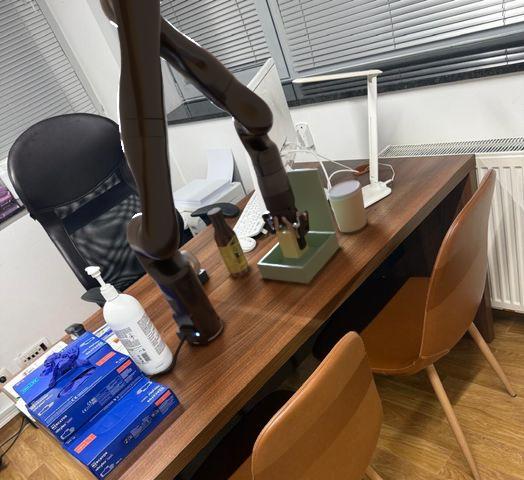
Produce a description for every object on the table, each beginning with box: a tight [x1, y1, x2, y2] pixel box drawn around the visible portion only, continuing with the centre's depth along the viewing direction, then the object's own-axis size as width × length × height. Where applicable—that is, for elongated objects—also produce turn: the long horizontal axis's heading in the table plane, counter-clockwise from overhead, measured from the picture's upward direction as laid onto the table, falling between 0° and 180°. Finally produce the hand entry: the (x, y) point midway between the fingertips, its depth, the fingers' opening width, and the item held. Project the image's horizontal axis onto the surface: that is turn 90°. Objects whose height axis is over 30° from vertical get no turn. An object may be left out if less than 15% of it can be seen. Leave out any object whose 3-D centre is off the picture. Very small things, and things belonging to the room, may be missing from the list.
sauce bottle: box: [207, 207, 250, 278], centre depth 127 cm, size 7×6×20 cm
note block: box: [275, 223, 309, 258], centre depth 120 cm, size 5×5×8 cm
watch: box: [180, 249, 210, 286], centre depth 134 cm, size 6×8×11 cm
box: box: [256, 231, 340, 284], centre depth 123 cm, size 17×16×5 cm
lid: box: [286, 167, 337, 232], centre depth 121 cm, size 17×16×5 cm
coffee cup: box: [327, 179, 367, 233], centre depth 126 cm, size 9×9×12 cm
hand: (294, 247), depth 121 cm, fingers closed on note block, 5 cm apart
